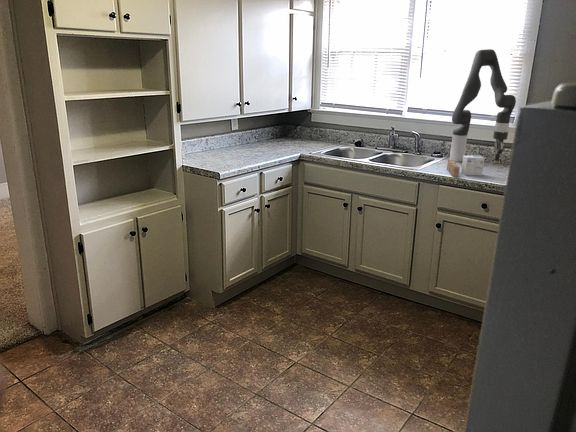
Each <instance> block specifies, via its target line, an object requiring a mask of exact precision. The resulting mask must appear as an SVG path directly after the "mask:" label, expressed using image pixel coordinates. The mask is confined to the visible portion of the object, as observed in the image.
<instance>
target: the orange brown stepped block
mask: <svg viewBox="0 0 576 432" xmlns="http://www.w3.org/2000/svg"><path fill="white" fill-rule="evenodd" d="M460 169H461V167H460V166H459V164H457V162H456V161H453V160H449V159H447V165H446V171H448V173H449V175H450V176H451V177H452V178H459V176H460Z"/></svg>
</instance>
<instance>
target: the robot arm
mask: <svg viewBox="0 0 576 432" xmlns="http://www.w3.org/2000/svg"><path fill="white" fill-rule="evenodd" d="M471 63H472V64H471V68H470V71H469V75H468V76H467V77H468V78H466V83H464V87H463V90H462V92H461V96H460V98H459V101H458V102H457V104H456V107H455V109H454V111H453V113H452V116H451V123H453V124H454V125H460V126H459V127H458V128H457V127H456V128H455V129H453V130H452V137H451V143H450V144H451V145H450V153H449V159H448V160H453V161H454V162H455V163H457V162H458V163H461V162H463V156H466V155H465V153H466V149H467V141H468V133H469V131H470V125H471V120H472V112H471V110H469V109H465V108H466V107H467V106H468V105H470V104H471V103H472V102H474V100H475V99H476V98H477V97H478V95H479V93H480V91H481V87H482V81H481V78H480V71H481V69H482V67H487V66H488V67H489V68H490V69H491V75H490V86H491V88H492V90H493V93H494V101H495V105H496V106H497V107H498V108H503V110H501V111H499V112H497V113H496V119H495V124H494V130H493V136H492V138H493V139H494V140H495V142H494V143H493V151H494V161H500V155H501V154H502V153H503V151H504V149H505V145H504V144H505V143H504V141H506V140H507V139H508V135H509V130H510V119H511V116H512V113H513V111H514V108H515V107H516V103H517V98H516V96H515V95H513V94H505V93H506V92H507V91H508V86H507V84H506V81H505V79H504V78H503V75H502V72H501V68H500V63H499V59H498V56H497V53H496V51H495V50H494V49H492V48H491V49H490V48H489V49H480V50H479V49H478V50H477V51H476V53H474V57H473V61H472V62H471Z"/></svg>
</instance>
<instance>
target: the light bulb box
mask: <svg viewBox="0 0 576 432" xmlns="http://www.w3.org/2000/svg"><path fill="white" fill-rule="evenodd" d="M461 164H462V165H461V171H460V173H461V174H462V175H464V176H483V173H484V165H485V156H482V155H465V156H463V161H462V163H461Z"/></svg>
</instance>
